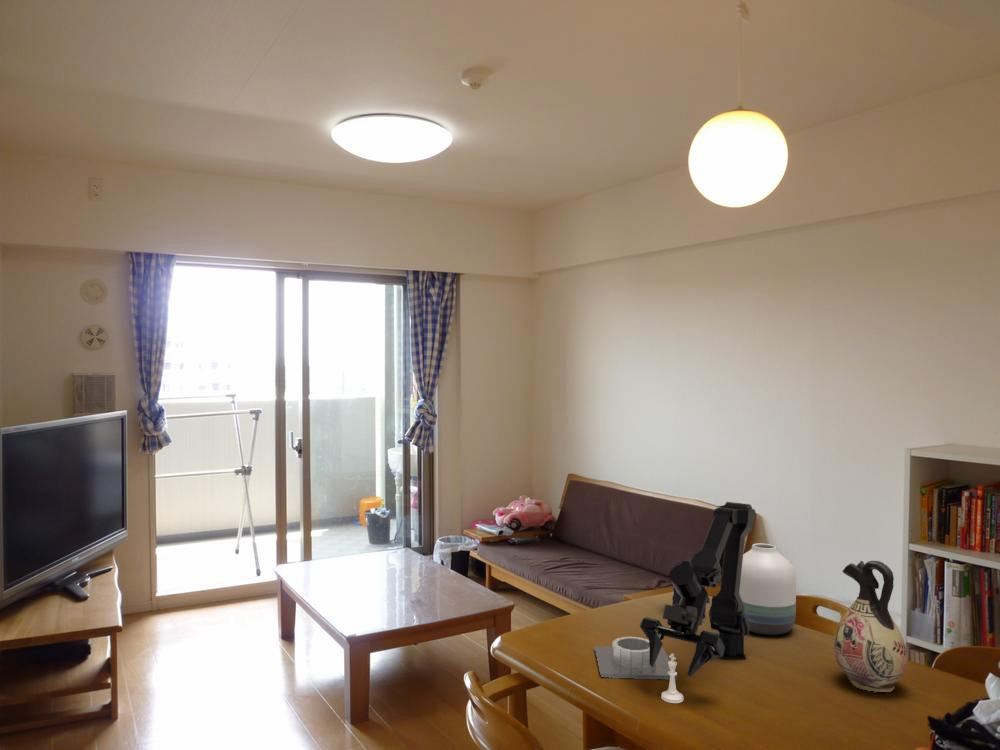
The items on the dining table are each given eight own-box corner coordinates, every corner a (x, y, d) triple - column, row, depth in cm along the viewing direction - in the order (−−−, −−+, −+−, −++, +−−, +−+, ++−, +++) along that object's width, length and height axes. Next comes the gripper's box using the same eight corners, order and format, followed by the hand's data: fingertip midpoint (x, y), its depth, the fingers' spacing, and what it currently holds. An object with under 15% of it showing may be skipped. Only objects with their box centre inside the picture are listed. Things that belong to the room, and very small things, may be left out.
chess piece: (671, 705, 156) (671, 659, 157) (656, 696, 161) (656, 651, 161) (688, 700, 159) (688, 655, 159) (673, 691, 163) (673, 648, 163)
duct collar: (663, 651, 188) (663, 632, 188) (677, 680, 170) (677, 658, 170) (594, 649, 188) (594, 630, 189) (600, 678, 170) (601, 657, 171)
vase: (720, 625, 208) (720, 543, 208) (759, 616, 217) (759, 537, 217) (768, 644, 193) (768, 555, 194) (808, 633, 202) (808, 548, 202)
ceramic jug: (818, 678, 171) (818, 553, 171) (864, 668, 177) (864, 547, 178) (881, 708, 155) (881, 570, 156) (929, 696, 162) (929, 563, 162)
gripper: (643, 582, 169) (619, 642, 160) (719, 598, 157) (698, 663, 148) (658, 607, 175) (636, 666, 166) (733, 624, 163) (713, 688, 154)
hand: (669, 670), depth 159 cm, fingers open, 9 cm apart
